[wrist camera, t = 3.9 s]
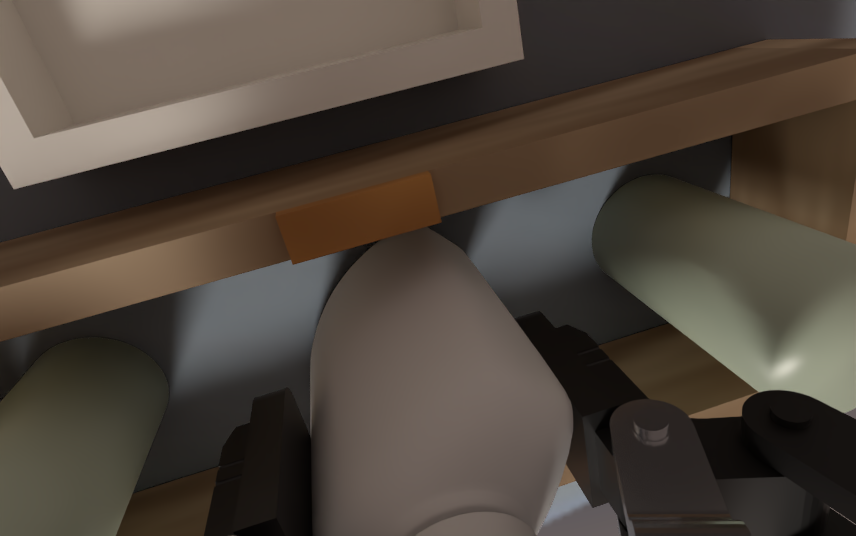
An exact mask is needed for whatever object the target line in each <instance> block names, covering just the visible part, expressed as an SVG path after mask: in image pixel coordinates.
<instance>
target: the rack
mask: <svg viewBox="0 0 856 536" xmlns="http://www.w3.org/2000/svg"><path fill="white" fill-rule="evenodd" d="M730 135H733V136H732V161H731V186H730V199H733V200H736V201H739V202H741V203H744V204H747V205H750V206H752V207H755V208H758V209H760V210H763V211H766V212H769V213H771V214H774V215H777V216H780V217H782V218H785V219H788V220H790V221H793V222H796V223H799V224H801V225H804V226H807V227H810V228H812V229H815V230H818V231H820V232H823V233H826V234H829V235H831V236H834V237H837V238H840V239H842V240H845V241H848V242H850V243H853V244H856V38H850V39H767V40H764V41H760V42H756V43H752V44H748V45H745V46H741V47H737V48H733V49H730V50H726V51H722V52H718V53H714V54H711V55H707V56H703V57H699V58H696V59H692V60H688V61H684V62H680V63H677V64H673V65H669V66H665V67H662V68H658V69H654V70H650V71H646V72H643V73H639V74H635V75H631V76H628V77H624V78H620V79H616V80H612V81H609V82H605V83H601V84H597V85H594V86H590V87H586V88H582V89H578V90H575V91H571V92H567V93H563V94H560V95H556V96H552V97H548V98H544V99H541V100H537V101H533V102H529V103H526V104H522V105H518V106H514V107H510V108H507V109H503V110H499V111H495V112H492V113H488V114H484V115H480V116H476V117H473V118H469V119H465V120H461V121H458V122H454V123H450V124H446V125H442V126H439V127H435V128H431V129H427V130H424V131H420V132H416V133H412V134H409V135H405V136H401V137H397V138H393V139H390V140H386V141H382V142H378V143H375V144H371V145H367V146H363V147H359V148H356V149H352V150H348V151H344V152H341V153H337V154H333V155H329V156H325V157H322V158H318V159H314V160H310V161H307V162H303V163H299V164H295V165H291V166H288V167H284V168H280V169H276V170H273V171H269V172H265V173H261V174H257V175H254V176H250V177H246V178H242V179H239V180H235V181H231V182H227V183H223V184H220V185H216V186H212V187H208V188H205V189H201V190H197V191H193V192H189V193H186V194H182V195H178V196H174V197H171V198H167V199H163V200H159V201H155V202H152V203H148V204H144V205H140V206H137V207H133V208H129V209H125V210H121V211H118V212H114V213H110V214H106V215H103V216H99V217H95V218H91V219H87V220H84V221H80V222H76V223H72V224H69V225H65V226H61V227H57V228H53V229H50V230H46V231H42V232H38V233H35V234H31V235H27V236H23V237H19V238H16V239H12V240H8V241H4V242H1V243H0V342H1V341H5V340H8V339H12V338H15V337H19V336H22V335H26V334H30V333H33V332H37V331H40V330H44V329H47V328H51V327H54V326H58V325H61V324H65V323H68V322H72V321H76V320H79V319H83V318H86V317H90V316H93V315H97V314H100V313H104V312H107V311H111V310H114V309H118V308H121V307H125V306H129V305H132V304H136V303H139V302H143V301H146V300H150V299H153V298H157V297H160V296H164V295H167V294H171V293H175V292H178V291H182V290H185V289H189V288H192V287H196V286H199V285H203V284H206V283H210V282H213V281H217V280H220V279H224V278H228V277H231V276H235V275H238V274H242V273H245V272H249V271H252V270H256V269H259V268H263V267H266V266H270V265H274V264H277V263H281V262H284V261H288V260H291V261H292V264H293V265H294V264H297V263H301V262H304V261H308V260H311V259H315V258H318V257H322V256H325V255H329V254H332V253H336V252H339V251H343V250H346V249H350V248H353V247H357V246H361V245H364V244H368V243H371V242H375V241H378V240H382V239H385V238H389V237H392V236H396V235H399V234H403V233H406V232H410V231H413V230H417V229H420V228H424V227H427V226H431V225H434V224H438V223H442V222H441V218H440V217H443V216H447V215H450V214H454V213H457V212H461V211H464V210H468V209H472V208H475V207H479V206H482V205H486V204H489V203H493V202H496V201H500V200H503V199H507V198H510V197H514V196H517V195H521V194H525V193H528V192H532V191H535V190H539V189H542V188H546V187H549V186H553V185H556V184H560V183H563V182H567V181H571V180H574V179H578V178H581V177H585V176H588V175H592V174H595V173H599V172H602V171H606V170H609V169H613V168H617V167H620V166H624V165H627V164H631V163H634V162H638V161H641V160H645V159H648V158H652V157H655V156H659V155H662V154H666V153H670V152H673V151H677V150H680V149H684V148H687V147H691V146H694V145H698V144H701V143H705V142H708V141H712V140H716V139H719V138H723V137H726V136H730ZM599 349H602V350H603V351H604V352H605V353H606V354H607V355H608V356H609V359H610V360H612V361H613V362H614V363H615V364H616V365H617V366H618V367H619V368H620V369H621V370H622V371H623V372H624V373H625V374H626V375H627V376H628V377H629V378H630V379H631V380H632V382H633V383H634V384H635V385H636V386H637V387H638V388H639V389H640V390H641V391H642V392H643V393H644V394H645V395H646V396H647V397H648V398H649V399H652V400H659V401H664V402H667V403H669V404H672V405H674V406H676V407H678V408H679V409H681V410H682V411H684V412H685V413H686V414H687V415H688V416H689V417H690V418H722V417H738V416H742V407H743V404H744V402H745V401H746V400H747V399H748V398H749V397H750V396H752V395H754V394H756V393H759V392H758V391H757V390H755V389H754V388H753V387H752V386H750V385H749V384H748V383H746V382H745V381H744V380H742V379H741V378H740V377H739V376H737V375H736V374H735V373H733V372H732V371H731V370H730V369H728V368H727V367H726V366H724V365H723V364H722V363H721V362H719V361H718V360H717V359H715V358H714V357H713V356H712V355H710V354H709V353H708V352H706V351H705V350H704V349H703V348H701V347H700V346H699V345H697V344H696V343H695V342H693V341H692V340H691V339H690V338H688V337H687V336H686V335H684V334H683V333H682V332H681V331H679V330H678V329H677V328H675V327H674V326H673V325H672V324H670V323H668V324H665V325H662V326H658V327H655V328H652V329H649V330H646V331H643V332H640V333H636V334H633V335H630V336H627V337H624V338H621V339H618V340H614V341H611V342H608V343H605V344H602V345H599ZM218 470H219V466H218V467H215V468H212V469H209V470H206V471H203V472H199V473H196V474H193V475H190V476H187V477H184V478H181V479H177V480H174V481H171V482H168V483H165V484H162V485H159V486H155V487H152V488H149V489H146V490H143V491H140V492H137V493H133V494H132V496H131V499H130V501H129V504H128V506H127V509H126V511H125V514H124V516H123V519H122V521H121V524H120V526H119V529H118V531H117V534H116V536H204V532H205V527H206V523H207V518H208V514H209V509H210V504H211V500H212V495H213V490H214V487H215V486H216V483H215V481H216V476H217V472H218ZM574 481H576V480H575V478H574V476H573V475H572V473H571V471H570V470H569V468H568V467H567V465H566V464H565V468H564V472H563V475H562V478H561V481H560V484H559V486H562V485H565V484H568V483H571V482H574Z"/></svg>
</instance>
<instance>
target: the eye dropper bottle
mask: <svg viewBox="0 0 856 536" xmlns="http://www.w3.org/2000/svg"><path fill="white" fill-rule="evenodd" d="M572 434H573V410H572V404H571V401H570V399H569V397H568V395H567V393H566V391H565V389H564V388H563V387H562V385H561V384H560V382H559V381H558V379H557V378H556V376H555V375H554V374H553V372H552V371H551V369H550V368H549V366H548V365H547V363H546V362H545V360H544V359H543V358H542V356H541V355H540V353H539V352H538V351H537V349H536V348H535V347H534V345H533V344H532V342H531V341H530V340H529V338H528V337H527V336H526V334H525V333H524V332H523V330H522V329H521V327H520V326H519V325H518V323H517V322H516V321H515V319H514V318H513V317H512V315H511V314H510V312H509V311H508V310H507V308H506V307H505V306H504V304H503V303H502V302H501V300H500V299H499V298H498V296H497V295H496V294H495V292H494V291H493V290H492V288H491V287H490V285H489V284H488V283H487V281H486V280H485V279H484V277H483V276H482V275H481V273H480V272H479V271H478V269H477V268H476V267H475V265H474V264H473V263H472V261H471V260H470V259H469V257H468V256H467V255H466V254H465V252H464V251H463V250H462V249H461V248H459V247H458V246H457V245H455V244H454V243H452V242H451V241H449V240H447V239H446V238H444V237H443V236H441V235H439V234H438V233H436V232H435V231H433V230H431V229H429V228H428V227H424V228H420V229H417V230H413V231H410V232H406V233H403V234H399V235H396V236H392V237H389V238H385V239H382V240H380V241H378V242H377V243H376V244H374V245H373V246H372V247H371V248H370V249H369V250H367V251H366V252H365V253H364V254H363V255H362V256H361V257H360V258H359V259H358V260H357V261H356V262H355V263H354V264H353V265H352V266H351V268H350V269H349V270H348V271H347V272H346V274H345V275H344V276H343V278H342V279H341V280H340V282H339V283H338V285H337V286H336V288H335V289H334V291H333V292H332V294H331V296H330V298H329V300H328V302H327V304H326V306H325V308H324V310H323V313H322V315H321V318H320V320H319V323H318V326H317V329H316V333H315V337H314V341H313V346H312V351H311V362H310V437H311V494H312V536H537V534H538V532H539V530H540V528H541V526H542V524H543V522H544V520H545V518H546V516H547V514H548V512H549V509H550V507H551V505H552V502H553V500H554V498H555V495H556V492H557V489H558V487H559V484H560V481H561V478H562V475H563V472H564V468H565V464H566V461H567V458H568V454H569V450H570V445H571V439H572Z"/></svg>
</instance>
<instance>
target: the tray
mask: <svg viewBox="0 0 856 536" xmlns="http://www.w3.org/2000/svg"><path fill="white" fill-rule="evenodd" d="M522 59H524V54H523V46H522V38H521V30H520V23H519V15H518V7H517V0H0V167H1V168H2V170H3V172H4V174H5V175H6V177H7V179H8V180H9V182H10V184H11V185H12V187H13V189H17V188H21V187H25V186H29V185H33V184H37V183H41V182H45V181H49V180H52V179H56V178H60V177H64V176H68V175H72V174H76V173H80V172H84V171H88V170H92V169H95V168H99V167H103V166H107V165H111V164H115V163H119V162H123V161H127V160H131V159H135V158H138V157H142V156H146V155H150V154H154V153H158V152H162V151H166V150H170V149H174V148H178V147H181V146H185V145H189V144H193V143H197V142H201V141H205V140H209V139H213V138H217V137H221V136H225V135H228V134H232V133H236V132H240V131H244V130H248V129H252V128H256V127H260V126H264V125H268V124H271V123H275V122H279V121H283V120H287V119H291V118H295V117H299V116H303V115H307V114H311V113H314V112H318V111H322V110H326V109H330V108H334V107H338V106H342V105H346V104H350V103H354V102H357V101H361V100H365V99H369V98H373V97H377V96H381V95H385V94H389V93H393V92H397V91H400V90H404V89H408V88H412V87H416V86H420V85H424V84H428V83H432V82H436V81H440V80H444V79H447V78H451V77H455V76H459V75H463V74H467V73H471V72H475V71H479V70H483V69H487V68H490V67H494V66H498V65H502V64H506V63H510V62H514V61H518V60H522Z"/></svg>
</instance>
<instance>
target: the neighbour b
mask: <svg viewBox="0 0 856 536" xmlns="http://www.w3.org/2000/svg"><path fill="white" fill-rule="evenodd" d="M592 249H593V254H594V257H595V260H596V262H597V264H598V265H599V267H600V268H601V269H602V270H603V271H604V272H605V273H606V274H607V275H608V276H610V277H611V278H612V279H613V280H615V281H616V282H617V283H619V284H620V285H621V286H623V287H624V288H625V289H626V290H628V291H629V292H630V293H632V294H633V295H634V296H635V297H637V298H638V299H639V300H641V301H642V302H643V303H644V304H646V305H647V306H648V307H650V308H651V309H652V310H653V311H655V312H656V313H657V314H659V315H660V316H661V317H663V318H664V319H665V320H666V321H668V322H669V323H670V324H672V325H673V326H674V327H675V328H677V329H678V330H679V331H681V332H682V333H683V334H684V335H686V336H687V337H688V338H690V339H691V340H692V341H693V342H695V343H696V344H697V345H699V346H700V347H701V348H703V349H704V350H705V351H706V352H708V353H709V354H710V355H712V356H713V357H714V358H715V359H717V360H718V361H719V362H721V363H722V364H723V365H724V366H726V367H727V368H728V369H730V370H731V371H732V372H733V373H735V374H736V375H737V376H739V377H740V378H741V379H742V380H744V381H745V382H746V383H748V384H749V385H750V386H752V387H753V388H754V389H755V390H757V391H758V392H762V391H768V390H786V391H793V392H797V393H801V394H804V395H807V396H810V397H813V398H815V399H817V400H819V401H821V402H823V403H825V404H827V405H829V406H831V407H833V408H835V409H837V410H839V411H840V412H842V413H846V412H848V411H851V410H853V409H855V408H856V244H853V243H850V242H848V241H845V240H842V239H840V238H837V237H834V236H831V235H829V234H826V233H823V232H820V231H818V230H815V229H812V228H810V227H807V226H804V225H801V224H799V223H796V222H793V221H790V220H788V219H785V218H782V217H780V216H777V215H774V214H771V213H769V212H766V211H763V210H760V209H758V208H755V207H752V206H750V205H747V204H744V203H741V202H739V201H736V200H733V199H730V198H728V197H725V196H722V195H720V194H717V193H714V192H711V191H709V190H706V189H703V188H700V187H698V186H695V185H692V184H690V183H687V182H684V181H681V180H679V179H676V178H673V177H670V176H667V175H660V174H653V175H646V176H642V177H639V178H636V179H634V180H632V181H630V182H628V183H626V184H625V185H623V186H622V187H621V188H619V189H618V190H617V191H616V192H615V193H614V194H613V195H612V196H611V197H610V198H609V199H608V200H607V202H606V203H605V204H604V206H603V207H602V209H601V210H600V212H599V214H598V216H597V219H596V222H595V224H594V228H593V233H592Z"/></svg>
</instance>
